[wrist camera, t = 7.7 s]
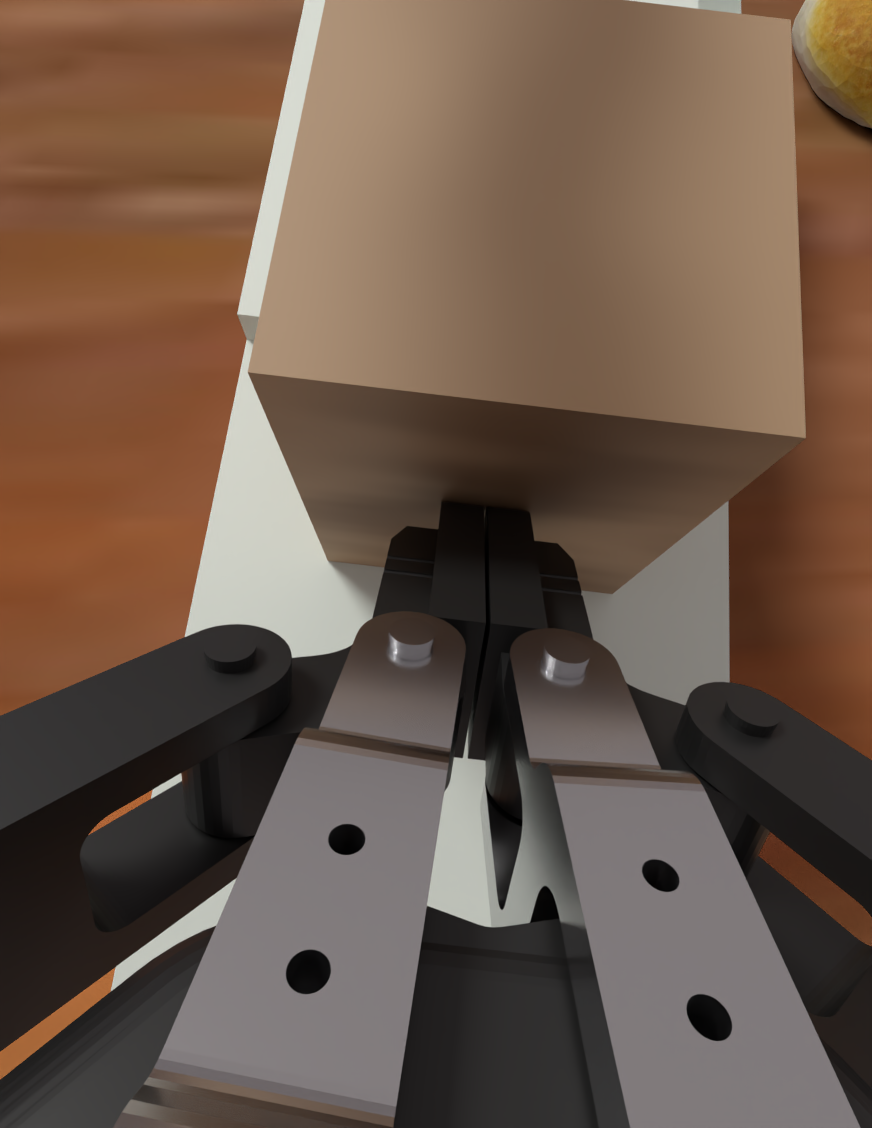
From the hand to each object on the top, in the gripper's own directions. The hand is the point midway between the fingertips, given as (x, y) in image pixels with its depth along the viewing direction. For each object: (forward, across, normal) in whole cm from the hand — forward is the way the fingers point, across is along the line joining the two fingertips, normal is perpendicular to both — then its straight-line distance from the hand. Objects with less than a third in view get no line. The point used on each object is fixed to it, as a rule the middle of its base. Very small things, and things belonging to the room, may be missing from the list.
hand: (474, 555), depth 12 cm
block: (+5, 0, 0) cm, 5 cm away
